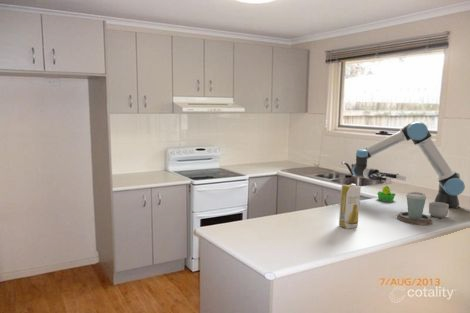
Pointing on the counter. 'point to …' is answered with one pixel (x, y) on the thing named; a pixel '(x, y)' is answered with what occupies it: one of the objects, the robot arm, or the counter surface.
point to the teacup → (438, 209)
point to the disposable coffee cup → (415, 204)
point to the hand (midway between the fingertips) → (398, 179)
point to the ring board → (405, 218)
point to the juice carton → (349, 206)
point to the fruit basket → (386, 194)
